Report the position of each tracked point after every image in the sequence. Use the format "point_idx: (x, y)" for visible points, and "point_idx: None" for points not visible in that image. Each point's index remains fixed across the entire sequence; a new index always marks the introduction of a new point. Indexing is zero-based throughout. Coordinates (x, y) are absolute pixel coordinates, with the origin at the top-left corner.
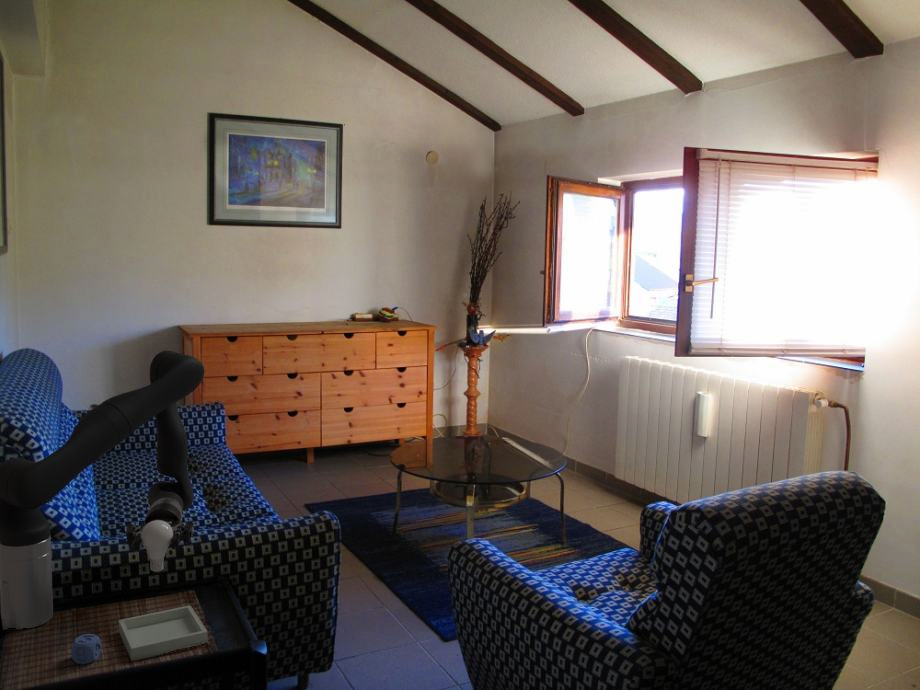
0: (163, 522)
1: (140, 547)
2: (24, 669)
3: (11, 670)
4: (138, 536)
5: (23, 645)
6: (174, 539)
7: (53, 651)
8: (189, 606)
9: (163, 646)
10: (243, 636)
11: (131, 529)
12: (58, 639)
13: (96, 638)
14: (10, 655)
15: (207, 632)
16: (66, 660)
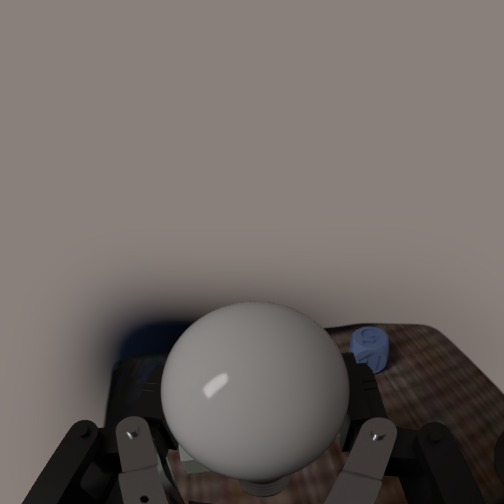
0: (206, 320)
1: None
2: (433, 343)
3: (446, 341)
4: (363, 399)
5: (478, 389)
6: None
7: (426, 379)
8: (184, 456)
9: None
10: (118, 381)
11: (448, 486)
12: (440, 409)
13: (354, 337)
14: (474, 367)
15: None
16: (392, 360)
